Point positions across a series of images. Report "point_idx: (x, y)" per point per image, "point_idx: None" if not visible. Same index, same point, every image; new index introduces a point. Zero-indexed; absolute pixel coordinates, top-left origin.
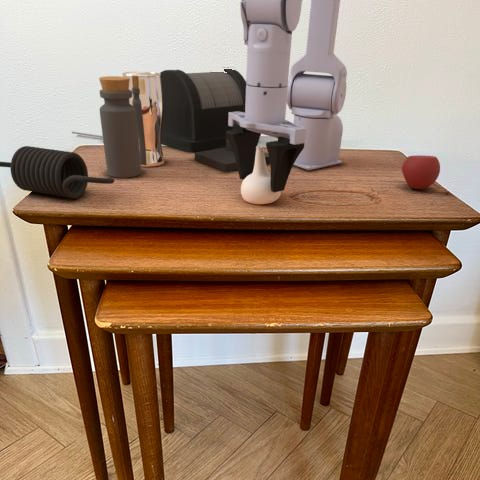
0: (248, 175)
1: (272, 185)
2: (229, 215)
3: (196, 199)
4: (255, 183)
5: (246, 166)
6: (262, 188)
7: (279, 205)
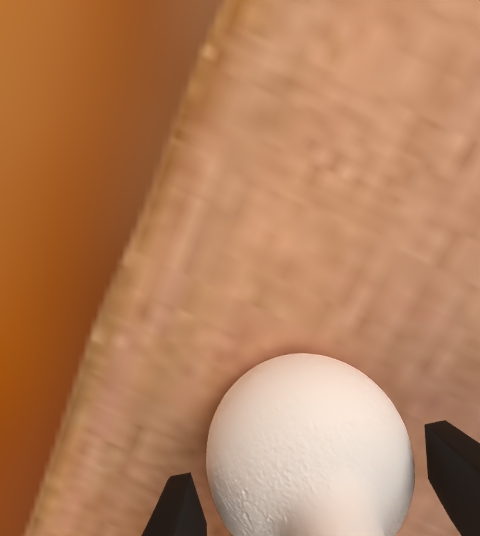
0: (382, 463)
1: (165, 501)
2: (167, 213)
3: (439, 152)
4: (265, 444)
5: (476, 510)
6: (225, 450)
7: None
